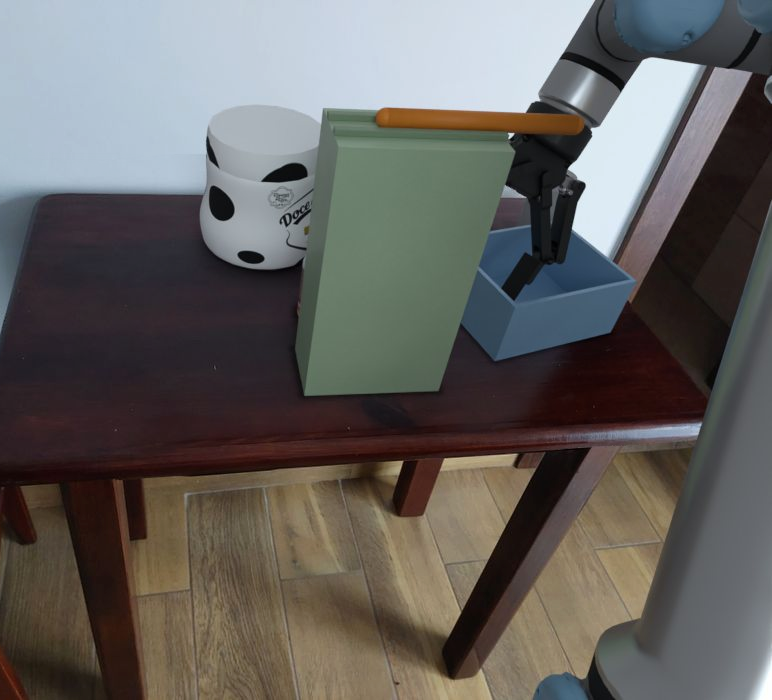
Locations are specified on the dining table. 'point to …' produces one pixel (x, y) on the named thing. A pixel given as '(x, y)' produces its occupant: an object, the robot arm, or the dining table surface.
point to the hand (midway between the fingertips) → (458, 281)
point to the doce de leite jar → (259, 186)
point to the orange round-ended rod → (480, 121)
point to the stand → (392, 251)
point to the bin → (543, 296)
